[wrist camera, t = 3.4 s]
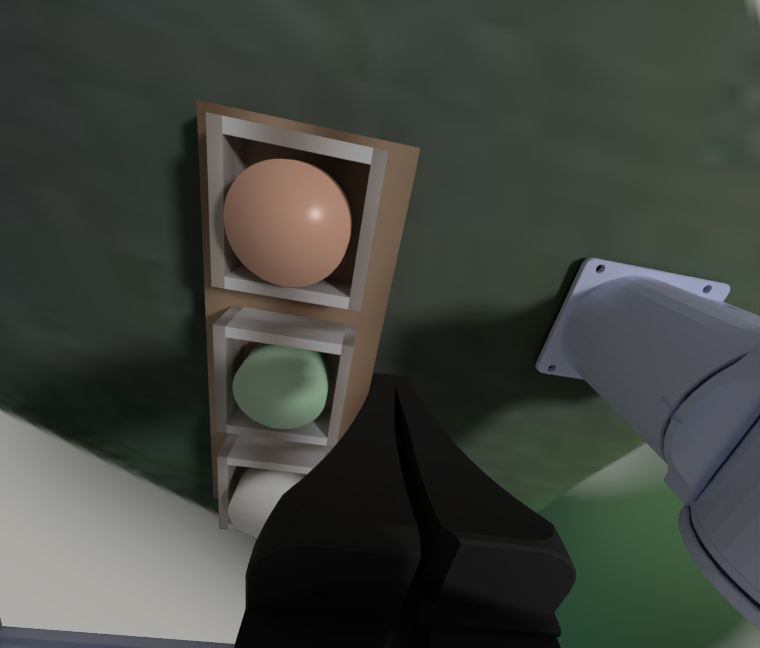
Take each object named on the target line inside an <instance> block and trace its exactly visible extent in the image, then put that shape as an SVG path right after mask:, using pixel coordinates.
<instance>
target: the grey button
mask: <svg viewBox="0 0 760 648" xmlns="http://www.w3.org/2000/svg"><path fill="white" fill-rule="evenodd" d="M305 476H306V474H302V473H293V472H285V471H277V470H268V469H260V468H251V467H250V468H248V469H247V470H246V471H245V472H244V473H243V474H242V476H241V478H240V481H239V483H238V485H237V488H236V490H235V492H234V495H233V497H232V499H231V502H230V504H229V507H228V515H229V518H230V520H231V522H232V523H233V525H234V526H235V527H236V528H238V529H239V530H240V531H242V532H244V533H245V534H247V535H250V536H252V537H256V538H258V536H259V534H260V532H261V530H262V528H263V526H264V524H265V522H266V520H267V519H268V517H269V515H270V514H271V512H272V510H273V509H274V507H275V505H276V504H277V502H278V501H279V499H280V498H281V496H282V495H283V494H284V493H285V492H286V491H288V490H289V489H290V488H291V487H292V486H294V485H295V484H296V483H297V482H299V481H300V480H301V479H302V478H303V477H305Z"/></svg>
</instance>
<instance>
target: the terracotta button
mask: <svg viewBox="0 0 760 648" xmlns="http://www.w3.org/2000/svg"><path fill="white" fill-rule="evenodd" d="M223 218H224V227H225V232H226V235H227V238H228V241H229V243H230V245H231V247H232V249H233V251H234V253H235V254H236V256H237V257H238V258H239V260H240V261H241V262H242V263H243V264H244V265H245V266H246V267H247V268H248V269H249V270H250V271H251V272H252V273H254V274H255V275H257V276H258V277H260V278H261V279H263V280H265V281H267V282H270V283H273V284H275V285H280V286H285V287H303V286H308V285H311V284H314V283H317V282H319V281H321V280H322V279H324V278H326V277H327V276H328V275H330V274H331V273H332V272H333V271H334V270H335V269H336V268H337V266H338V265H339V263H340V262H341V260H342V258H343V257H344V255H345V252H346V249H347V246H348V243H349V240H350V237H351V233H352V213H351V208H350V205H349V202H348V199H347V197H346V195H345V193H344V191H343V190H342V188H341V187H340V185H339V184H338V183H337V181H336V180H335V179H334V178H333V177H332V176H331V175H329V174H328V173H327V172H326V171H324V170H323V169H321V168H319V167H318V166H316V165H313V164H311V163H308V162H304V161H299V160H290V159H270V160H265V161H262V162H259V163H256V164H254V165H252V166H250V167H249V168H247V169H246V170H244V171H243V172H242V173H241V174H240V175H239V176H238V177H237V178H236V179H235V181H234V182H233V184H232V185H231V187H230V189H229V191H228V194H227V196H226V199H225V204H224V215H223Z"/></svg>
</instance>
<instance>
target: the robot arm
mask: <svg viewBox="0 0 760 648" xmlns="http://www.w3.org/2000/svg"><path fill="white" fill-rule="evenodd" d="M599 265H601V268H600V269H599V270H598V271H596V268H597V267H598V266H599ZM705 286H706V287H705ZM704 287H705V289H704V290H703V288H704ZM729 291H730V286H729V285H727V284H724V283H721V282H716V281H711V280H706V279H701V278H696V277H690V276H685V275H680V274H675V273H670V272H665V271H660V270H655V269H649V268H644V267H639V266H634V265H629V264H624V263H619V262H613V261H608V260H603V259H598V258H587V259H586V260H584V261H583V263H582V264H581V266H580V268H579V271H578V273H577V275H576V277H575V279H574V281H573V284H572V286H571V288H570V290H569V292H568V294H567V297H566V299H565V301H564V303H563V305H562V308H561V310H560V312H559V314H558V316H557V318H556V321H555V323H554V325H553V327H552V329H551V331H550V334H549V336H548V338H547V340H546V342H545V345H544V347H543V349H542V351H541V353H540V355H539V358H538V360H537V362H536V365H535V367H536V369H537V370H538V371H539V372H541V373H545V374H551V375H558V376H564V377H570V378H577V379H583V380H585V381H586V382H587V383H588V384H589V385H590V386H591V387H592V388H593V389H594V390H595V391H596V392H597V393H598V394H599V395H600V396H601V397H602V398H603V399H604V400H605V401H606V402H607V403H608V404H609V405H610V406H611V407H612V408H613V409H614V410H615V411H616V412H617V413H618V414H619V415H620V417H621V418H622V419H623V420H624V421H625V422H626V423H627V424H628V425H629V426H630V427H631V428H632V429H633V430H634V431H635V432H636V433H637V434H638V435H639V436H640V437H641V438H642V439H643V440H644V441H645V442H646V443H647V444H648V445H649V446H650V447H651V448H652V449H653V450H654V451H655V452H656V453H657V454H658V455H659V456H660V457H661V458H662V459H663V460H664V461H665V462H666V463H667V464H668V473H667V475H666V477H665V479H664V482H665V483H666V484H667V485H668V486H669V487H670V488H671V490H672V491H673V492H675V494H676V495H677V496H678V497H679V498H680V499H681V500H682V501H683V503H684V504H685V505H684V507H683V508H682V509H681V511H680V514H679V520H678V522H679V530H680V533H681V536H682V539H683V542H684V544H685V546H686V547H687V549H688V551H689V553H690V555H691V556H692V558H693V559H694V561H695V562H696V564H697V565H698V567H699V568H700V570H701V571H702V572H703V573H704V575H705V576H706V577H707V578H708V580H709V581H710V582H711V583H712V585H713V586H714V587H715V588H716V589H717V590H718V591H719V592H720V593H721V594H722V595H723V596H724V598H725V599H726V600H727V601H728V602H729V603H730V604H731V605H732V606H733V607H734V608H735V609H736V610H737V611H738V612H740V613H741V614H742V615H743V616H744V617H745V618H746V619H747V620H749V621H750V622H751V623H752V624H753V625H754V626H756V627H757V628H758V629H759V630H760V316H758V315H755V314H753V313H750V312H748V311H745V310H742V309H740V308H737V307H735V306H732V305H730V304H727V303H724V302H723V301H724V299H725V298H726V296H727V295H728V294H729ZM551 365H553V366H552V367H551V368H549V366H551ZM575 580H576V570H575V567H574V565H573V563H572V561H571V559H570V557H569V555H568V552H567V550H566V548H565V546H564V544H563V542H562V540H561V538H560V536H559V534H558V533H557V531H556V529H555V527H554V525H553V524H552V523H550V522H549V521H547V520H546V519H544V518H543V517H541V516H540V515H539V514H537V513H536V512H534V511H533V510H531V509H530V508H528V507H527V506H526V505H524V504H523V503H521V502H520V501H518V500H517V499H516V498H515V497H513V496H512V495H511V494H509V493H508V492H507V491H506V490H504V489H503V488H502V487H500V486H499V485H498V484H497V483H496V482H494V481H493V480H492V479H491V478H490V477H489V476H487V475H486V474H485V473H484V472H483V471H482V470H481V469H480V468H479V467H478V466H476V465H475V464H474V463H473V462H472V461H471V460H470V459H469V458H468V457H467V456H466V455H465V454H464V453H463V452H462V451H461V450H460V448H459V447H458V446H457V445H456V444H455V443H454V442H453V441H452V440H451V439H450V437H449V436H448V435H447V434H446V433H445V431H444V430H443V429H442V427H441V426H440V425H439V424H438V422H437V421H436V419H435V418H434V417H433V415H432V414H431V412H430V411H429V409H428V408H427V406H426V405H425V403H424V402H423V400H422V399H421V397H420V395H419V394H418V392H417V390H416V389H415V387H414V385H413V384H412V382H411V380H410V379H409V378H408V377H402V376H395V375H388V374H381V373H375V374H373V375H372V381H371V386H370V390H369V393H368V395H367V397H366V399H365V401H364V403H363V405H362V407H361V409H360V411H359V412H358V414H357V416H356V418H355V419H354V421H353V422H352V424H351V425H350V427H349V428H348V430H347V431H346V432H345V434H344V435H343V436H342V438H341V439H340V440H339V441H338V443H337V444H336V445H335V446H334V447H333V449H332V450H331V451H330V452H329V453H328V454H327V455H326V456H325V457H324V458H323V459H322V460H321V461H320V462H319V463H318V464H317V465H316V466H315V467H314V468H313V469H312V470H311V471H310V472H309V473H308V474H307V475H306V476H305V477H303V478H302V479H301V480H300V481H299V482H297V483H296V484H295V485H294V486H292V487H291V488H290V489H289V490H288V491H286V492H285V493H284V494H283V495H282V496H281V498H280V499H279V501H278V502H277V504H276V505H275V507H274V509H273V510H272V512H271V514H270V515H269V517H268V519H267V520H266V522H265V524H264V526H263V528H262V530H261V532H260V534H259V536H258V538H257V540H256V543H255V545H254V548H253V551H252V555H251V558H250V561H249V564H248V568H247V572H246V609H245V613H244V616H243V619H242V623H241V626H240V629H239V633H238V636H237V639H236V643H235V644H227V643H214V642H200V641H188V640H174V639H162V638H149V637H136V636H135V637H134V636H123V635H122V636H121V635H109V634H97V633H84V632H71V631H58V630H44V629H32V628H18V627H6V626H2V623H1V619H0V648H560V645H559V643H558V640H557V637H559V636H560V635H561V629H560V626H559V623H558V621H557V619H556V616H555V613H554V612H555V610H556V609H557V608H558V606H559V605H560V604H561V603H562V601H563V600H564V599H565V597H566V596H567V595H568V593H569V592H570V590H571V588H572V587H573V585H574V582H575Z"/></svg>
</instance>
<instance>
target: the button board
mask: <svg viewBox="0 0 760 648" xmlns="http://www.w3.org/2000/svg"><path fill="white" fill-rule="evenodd" d="M196 102H197V125H198V148H199V172H200V195H201V219H202V242H203V266H204V289H205V313H206V336H207V360H208V383H209V407H210V430H211V454H212V477H213V498H215V499H218V500H219V528H220V529H227V530H237V531H240V530H239V529H238V528H236V527H235V526H234V525H233V523H232V522H231V520H230V518H229V515H228V507H229V504H230V502H231V499H232V497H233V495H234V492H235V490H236V488H237V485H238V483H239V481H240V478H241V476H242V474H243V473H244V472H245V471H246V470H247V469H248V468H250V467H251V468H260V469H268V470H277V471H285V472H293V473H302V474H306V475H307V474H308V473H309V472H310V471H311V470H312V469H313V468H314V467H315V466H316V465H317V464H318V463H319V462H320V461H321V460H322V459H323V458H324V457H325V456H326V455H327V454H328V453H329V452H330V451H331V450H332V449H333V447H334V446H335V445H336V444H337V443H338V441H339V440H340V439H341V438H342V436H343V435H344V434H345V432H346V431H347V430H348V428H349V427H350V425H351V424H352V422H353V421H354V419H355V418H356V416H357V414H358V412H359V411H360V409H361V407H362V405H363V403H364V401H365V399H366V397H367V395H368V392H369V388H370V383H371V378H372V374H373V369H374V364H375V360H376V355H377V350H378V345H379V341H380V336H381V331H382V327H383V322H384V317H385V313H386V308H387V303H388V298H389V294H390V289H391V284H392V280H393V275H394V270H395V266H396V261H397V256H398V251H399V247H400V242H401V237H402V233H403V228H404V223H405V219H406V214H407V209H408V204H409V200H410V195H411V190H412V186H413V181H414V176H415V172H416V167H417V162H418V157H419V153H420V148H417V147H412V146H408V145H403V144H398V143H394V142H389V141H384V140H380V139H375V138H371V137H366V136H361V135H357V134H352V133H347V132H343V131H338V130H334V129H329V128H324V127H320V126H315V125H311V124H306V123H301V122H297V121H292V120H287V119H283V118H278V117H274V116H269V115H264V114H260V113H255V112H251V111H246V110H241V109H237V108H232V107H227V106H223V105H218V104H214V103H209V102H204V101H200V100H196ZM270 159H290V160H299V161H304V162H308V163H311V164H313V165H316V166H318V167H319V168H321V169H323V170H324V171H326V172H327V173H328V174H329V175H331V176H332V177H333V178H334V179H335V180H336V181H337V183H338V184H339V185H340V187H341V188H342V190H343V191H344V193H345V195H346V197H347V199H348V202H349V205H350V208H351V213H352V233H351V237H350V240H349V243H348V246H347V249H346V252H345V255H344V257H343V258H342V260H341V262H340V263H339V265H338V266H337V268H336V269H335V270H334V271H333V272H332V273H331V274H330V275H328V276H327V277H326V278H324V279H322V280H321V281H319V282H317V283H314V284H311V285H308V286H303V287H285V286H280V285H275V284H273V283H270V282H267V281H265V280H263V279H261V278H260V277H258V276H257V275H255V274H254V273H252V272H251V271H250V270H249V269H248V268H247V267H246V266H245V265H244V264H243V263H242V262H241V261H240V260H239V258H238V257H237V256H236V254H235V253H234V251H233V249H232V247H231V245H230V243H229V241H228V238H227V235H226V232H225V227H224V218H223V215H224V204H225V199H226V196H227V194H228V191H229V189H230V187H231V185H232V184H233V182H234V181H235V179H236V178H237V177H238V176H239V175H240V174H241V173H242V172H243V171H244V170H246V169H247V168H249V167H250V166H252V165H254V164H256V163H259V162H262V161H265V160H270ZM258 343H266V344H273V345H279V346H286V347H292V348H299V349H305V350H312V351H318V352H322V353H323V355H324V356H325V358H326V359H327V361H328V364H329V366H330V371H331V378H330V384H329V388H328V393H327V398H326V402H325V406H324V408H323V410H322V412H321V413H320V415H319V416H318V417H317V418H316V419H315V420H313V421H312V422H310V423H309V424H306V425H304V426H301V427H298V428H293V429H277V428H271V427H268V426H265V425H262V424H260V423H258V422H256V421H254V420H253V419H251V418H250V417H249V416H247V415H246V414H245V413H244V412H243V411H242V410H241V408H240V407H239V406H238V404H237V402H236V400H235V398H234V394H233V380H234V377H235V375H236V372H237V371H238V369H239V368H240V367H241V365H242V364H243V362H244V361H245V359H246V358H247V356H248V355H249V353H250V352H251V350H252V349H253V348H254V347H255V346H256V345H257V344H258Z"/></svg>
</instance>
